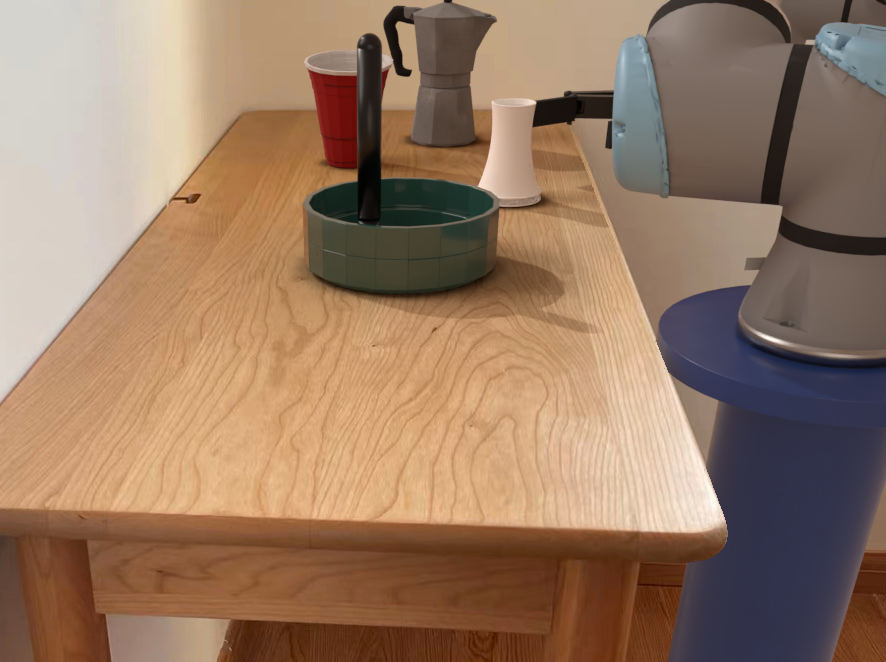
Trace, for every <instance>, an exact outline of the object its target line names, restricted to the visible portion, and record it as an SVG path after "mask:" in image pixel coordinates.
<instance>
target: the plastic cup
mask: <svg viewBox="0 0 886 662" xmlns="http://www.w3.org/2000/svg"><path fill="white" fill-rule="evenodd" d="M303 63H304V67H306V70H307V72H308V74H309V75H308V76H309V79H310V82H311V87H312V91H313V95H314V101H315V102H314V103H315V107H316V114H317V119H318V125H319V131H320V136H321V137H322V138H321V139H322V144H323V151H324V157H325V159H326V163H327V164H328V165H329V166H331V167H335V168H336V167H337V168H345V169H347V168H349V169H351V168H352V169H353V168H357V49H341V50H340V49H339V50H327V51H322V52H317V53H313V54H311V55H309V56H306V57H305V59H304V61H303ZM392 65H393V59H392V56H391V57H390V56H389V55H387V54H384V53H382V100H383V99H384V93H385V88H386V83H387V79H388V76H389V72H390V69H391V68H392Z"/></svg>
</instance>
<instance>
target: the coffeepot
mask: <svg viewBox="0 0 886 662" xmlns="http://www.w3.org/2000/svg"><path fill="white" fill-rule="evenodd" d="M398 22H401V23H404V24H409V25H414V34H415V43H416V55H417V64H418V71H419V72H420V73H419V75H420V76H419V84H420V85H418V91H417V97H416V101H415V102H416V103H415V108H414V115H413V120H412V127H411V131H410V139H411V142H412V143H414V144H417V145H421V146H428V147H443V148H444V147H445V148H447V147H459V146H465V145H469V144H472V143H474V142H476V139H477V138H476V130H475V129H476V128H475V119H474V118H475V117H474V109H473V107H474V105H473V98H472V87H471V73H472V72H473V71H474V68H475V62H476V56H477V51H478V49H479V47H480V46H481V44H482V42H483V40H484V39H485V37H486V35H487V33H488V32H489V30H490V28H491V27H492V26H493V25H494V24H496V23H497V22H498V18H497V17H496V16H495V15H492V14H491V13H487V12H484V11H481V10H479V9H475V8H472V7H468V6H465V5H462V4H459V3H456V2H453V0H443V2H440V3H437V4H434V5H431V6H426V7H424V8H423V7H419V6H406V5H394V6H393V7H392V8H391V9H390V11H389V12H388V13H387V14H386V16H385V17H384V19H383V22H382V25H383V31H384V34H385V38H386V41H387V45H388V49H389V53H390V56H391V58H392V59H393V63H392V65H393V68H394V72H395V74H396V75H397V76H399V77H403V78H409V77H411V75H412V73H413V69H410V68H406V67H405V65H404V64H403V62H404V61H403V58H404V57H403V55H404V54H403V51H402V48H401V46H400V40H399V39H400V38H399V31H398V29H397V24H398Z"/></svg>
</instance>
